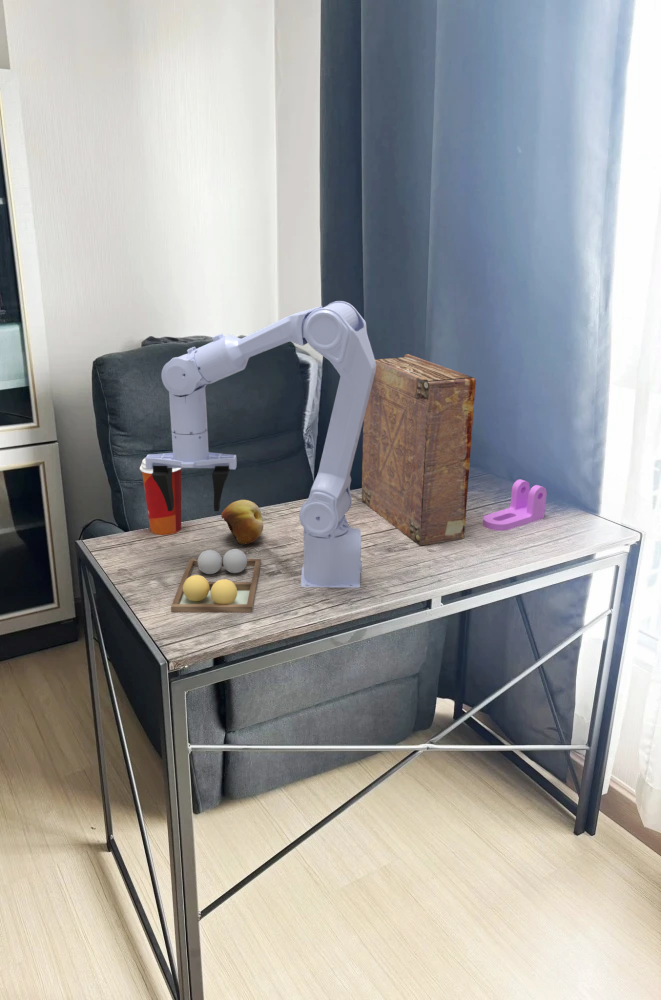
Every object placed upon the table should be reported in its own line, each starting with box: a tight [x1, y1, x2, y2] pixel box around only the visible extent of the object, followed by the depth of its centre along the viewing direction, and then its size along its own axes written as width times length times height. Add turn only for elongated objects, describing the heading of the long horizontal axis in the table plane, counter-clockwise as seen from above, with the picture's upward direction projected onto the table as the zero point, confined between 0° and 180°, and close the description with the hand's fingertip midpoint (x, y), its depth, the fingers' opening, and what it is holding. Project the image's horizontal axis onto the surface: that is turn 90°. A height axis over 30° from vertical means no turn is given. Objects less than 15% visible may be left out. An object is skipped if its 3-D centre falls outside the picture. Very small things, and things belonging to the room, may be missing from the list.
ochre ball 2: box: [211, 578, 237, 604], centre depth 121 cm, size 4×4×4 cm
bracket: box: [482, 478, 547, 532], centre depth 155 cm, size 13×6×7 cm, turn 126°
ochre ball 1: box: [183, 574, 209, 601], centre depth 123 cm, size 4×4×4 cm
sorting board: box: [170, 558, 262, 614], centre depth 127 cm, size 12×17×2 cm
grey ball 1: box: [197, 549, 223, 575], centre depth 132 cm, size 4×4×4 cm
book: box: [361, 353, 477, 547], centre depth 152 cm, size 25×9×30 cm, turn 23°
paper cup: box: [139, 458, 182, 536], centre depth 148 cm, size 8×8×14 cm
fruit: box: [220, 499, 264, 545], centre depth 144 cm, size 8×8×8 cm
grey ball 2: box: [222, 548, 248, 574], centre depth 132 cm, size 4×4×4 cm
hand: (194, 509), depth 134 cm, fingers open, 7 cm apart
